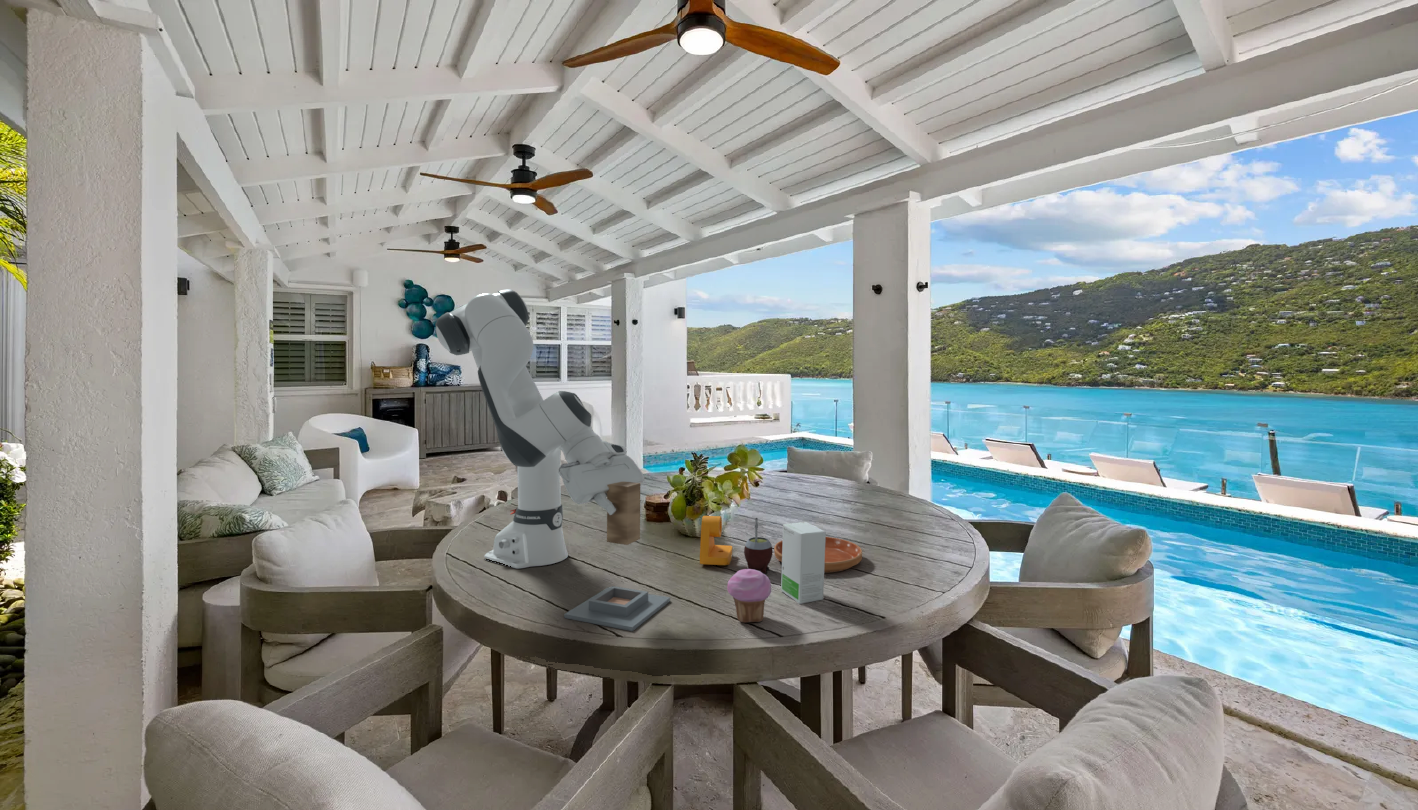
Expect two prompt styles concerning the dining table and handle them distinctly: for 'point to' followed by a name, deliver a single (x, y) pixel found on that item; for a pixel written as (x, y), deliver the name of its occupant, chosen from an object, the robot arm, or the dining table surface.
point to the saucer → (834, 554)
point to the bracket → (707, 547)
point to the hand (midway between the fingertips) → (625, 509)
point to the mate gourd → (758, 552)
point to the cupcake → (749, 594)
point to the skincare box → (803, 562)
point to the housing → (618, 608)
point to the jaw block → (624, 513)
